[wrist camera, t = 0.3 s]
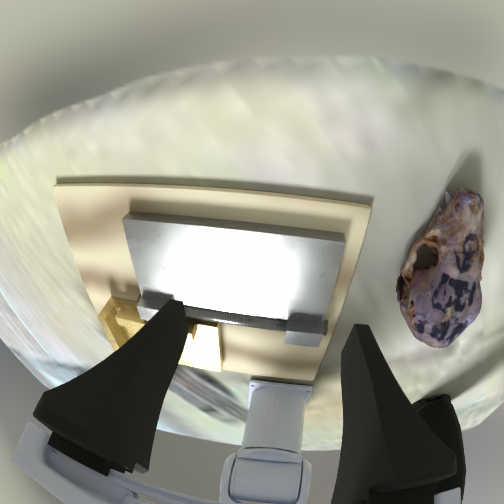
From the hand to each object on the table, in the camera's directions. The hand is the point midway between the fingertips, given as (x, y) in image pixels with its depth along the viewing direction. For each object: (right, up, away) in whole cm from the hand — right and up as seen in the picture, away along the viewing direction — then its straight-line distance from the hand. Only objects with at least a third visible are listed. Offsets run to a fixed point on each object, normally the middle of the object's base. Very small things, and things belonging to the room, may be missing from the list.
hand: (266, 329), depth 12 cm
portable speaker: (+28, -21, +22) cm, 41 cm away
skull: (+15, +3, +8) cm, 17 cm away
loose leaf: (-10, -5, +17) cm, 20 cm away
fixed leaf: (-2, +1, +11) cm, 11 cm away
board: (-6, -1, +14) cm, 15 cm away
